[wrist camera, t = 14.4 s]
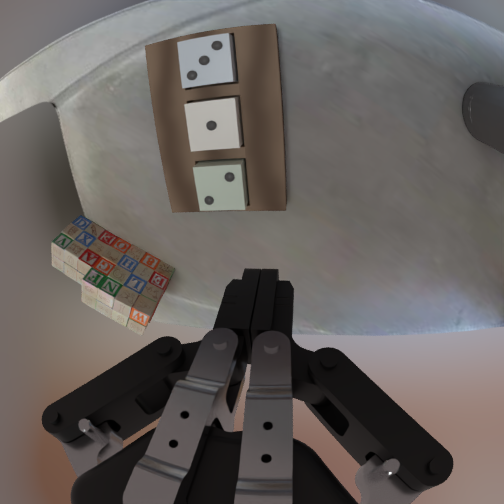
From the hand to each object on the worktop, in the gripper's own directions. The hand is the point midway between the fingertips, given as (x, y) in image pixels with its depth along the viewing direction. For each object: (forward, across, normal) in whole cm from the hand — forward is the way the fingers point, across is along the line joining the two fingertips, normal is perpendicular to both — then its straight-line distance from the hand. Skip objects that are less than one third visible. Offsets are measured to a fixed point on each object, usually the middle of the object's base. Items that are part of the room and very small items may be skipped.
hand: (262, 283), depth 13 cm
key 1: (+26, +8, -4) cm, 27 cm away
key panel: (+27, +8, -4) cm, 28 cm away
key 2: (+25, +8, +4) cm, 27 cm away
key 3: (+26, +8, -12) cm, 29 cm away
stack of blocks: (+27, +30, +17) cm, 44 cm away
